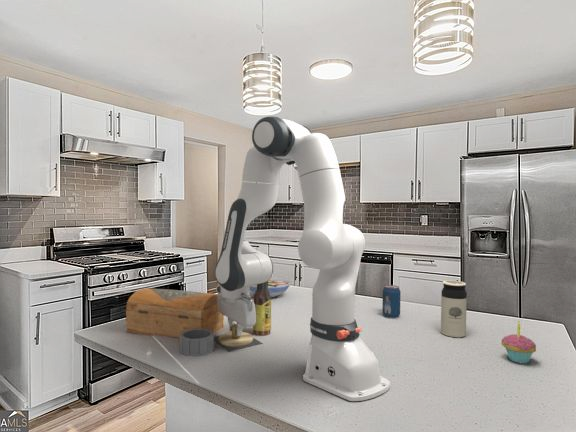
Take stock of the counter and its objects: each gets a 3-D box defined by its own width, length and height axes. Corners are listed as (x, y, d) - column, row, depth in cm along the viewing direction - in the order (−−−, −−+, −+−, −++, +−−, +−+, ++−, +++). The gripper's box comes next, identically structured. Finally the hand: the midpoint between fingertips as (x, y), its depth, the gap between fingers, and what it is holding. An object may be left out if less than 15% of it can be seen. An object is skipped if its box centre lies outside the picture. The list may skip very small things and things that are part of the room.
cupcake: (536, 368, 102) (537, 325, 101) (500, 361, 106) (501, 320, 106) (535, 358, 109) (536, 317, 109) (501, 352, 113) (502, 312, 113)
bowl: (219, 352, 111) (219, 335, 111) (186, 359, 105) (186, 342, 105) (206, 342, 119) (206, 326, 119) (175, 348, 114) (175, 332, 113)
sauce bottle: (268, 337, 124) (268, 278, 124) (250, 336, 125) (250, 277, 125) (273, 331, 130) (273, 274, 130) (255, 329, 132) (256, 273, 131)
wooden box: (226, 327, 134) (226, 289, 134) (201, 343, 119) (201, 300, 118) (156, 319, 144) (156, 283, 143) (125, 332, 128) (125, 292, 128)
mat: (263, 344, 118) (263, 343, 118) (228, 353, 111) (228, 351, 111) (242, 332, 129) (242, 331, 129) (209, 339, 122) (209, 337, 122)
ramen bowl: (302, 296, 181) (302, 280, 181) (268, 305, 164) (268, 287, 164) (267, 288, 198) (267, 273, 198) (233, 296, 181) (233, 279, 181)
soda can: (399, 314, 153) (399, 285, 152) (401, 319, 146) (401, 288, 146) (381, 313, 154) (382, 284, 154) (382, 318, 147) (383, 287, 147)
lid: (259, 342, 119) (259, 326, 118) (227, 349, 112) (227, 333, 112) (242, 332, 128) (242, 318, 127) (212, 339, 121) (212, 323, 121)
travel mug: (442, 328, 135) (443, 279, 134) (466, 332, 131) (467, 281, 130) (439, 335, 128) (440, 283, 127) (464, 339, 124) (465, 285, 123)
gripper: (261, 295, 113) (260, 340, 113) (230, 283, 129) (230, 323, 130) (242, 298, 109) (242, 345, 109) (213, 285, 126) (213, 326, 126)
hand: (235, 333), depth 120 cm, fingers closed on lid, 3 cm apart
